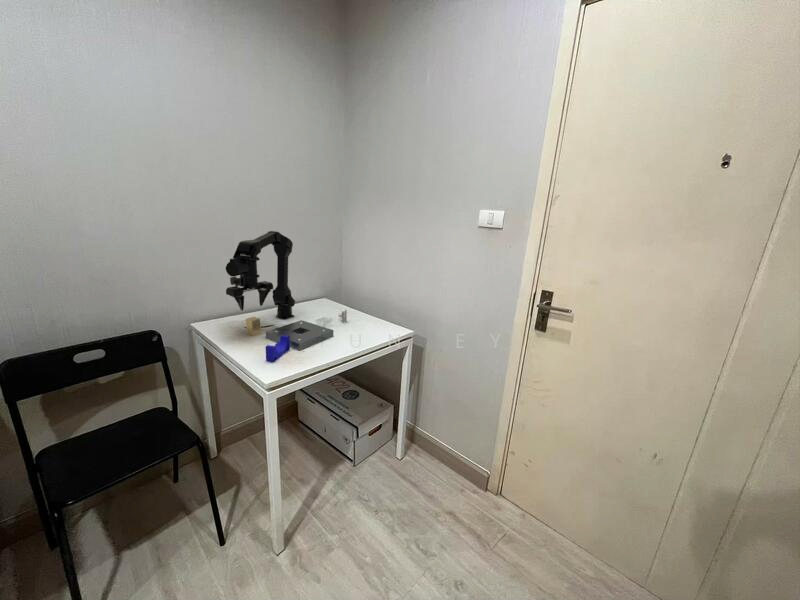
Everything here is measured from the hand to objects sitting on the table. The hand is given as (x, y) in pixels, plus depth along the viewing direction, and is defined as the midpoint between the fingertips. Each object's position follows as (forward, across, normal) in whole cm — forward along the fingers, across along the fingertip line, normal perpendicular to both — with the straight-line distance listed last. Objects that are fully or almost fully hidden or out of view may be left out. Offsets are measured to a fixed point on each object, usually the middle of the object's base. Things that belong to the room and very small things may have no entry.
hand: (251, 307), depth 141 cm
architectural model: (+13, -33, +16) cm, 39 cm away
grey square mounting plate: (+12, -10, +18) cm, 24 cm away
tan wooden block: (+12, 0, 0) cm, 12 cm away
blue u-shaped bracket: (+12, +8, +25) cm, 29 cm away
